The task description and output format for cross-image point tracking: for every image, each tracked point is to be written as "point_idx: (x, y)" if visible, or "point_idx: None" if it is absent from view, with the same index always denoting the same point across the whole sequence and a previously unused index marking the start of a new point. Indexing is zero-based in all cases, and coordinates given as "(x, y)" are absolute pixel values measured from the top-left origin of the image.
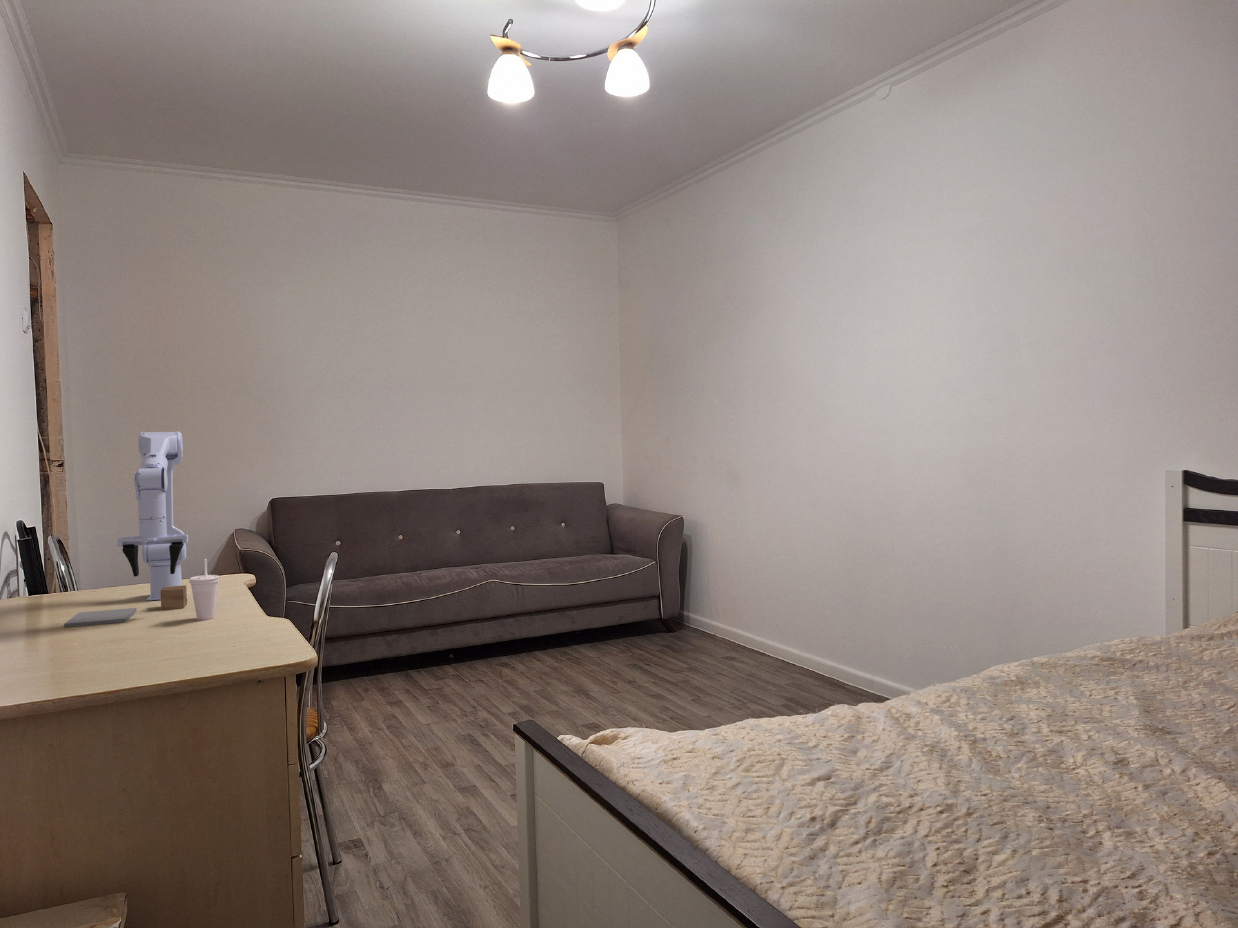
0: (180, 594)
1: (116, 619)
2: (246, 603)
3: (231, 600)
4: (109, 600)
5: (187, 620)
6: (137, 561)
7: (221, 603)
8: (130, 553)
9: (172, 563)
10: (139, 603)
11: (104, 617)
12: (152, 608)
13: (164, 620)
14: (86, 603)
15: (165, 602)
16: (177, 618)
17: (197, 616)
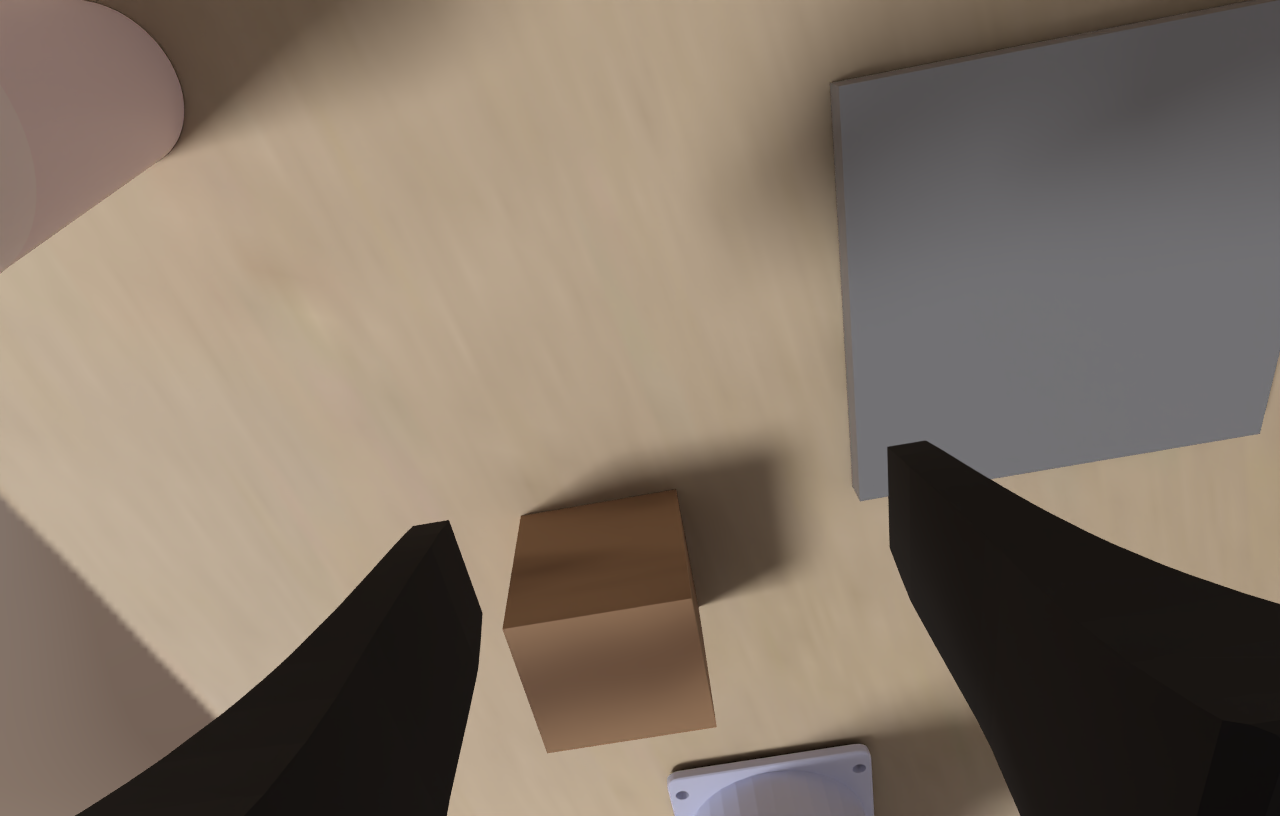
0: (531, 587)
1: (914, 69)
2: (91, 581)
3: None
4: None
5: (234, 9)
6: (984, 708)
7: (300, 610)
8: (1221, 654)
9: (351, 615)
10: (894, 694)
11: (1039, 187)
12: (760, 547)
13: (478, 68)
14: None
15: (647, 529)
16: (389, 134)
17: (128, 28)
